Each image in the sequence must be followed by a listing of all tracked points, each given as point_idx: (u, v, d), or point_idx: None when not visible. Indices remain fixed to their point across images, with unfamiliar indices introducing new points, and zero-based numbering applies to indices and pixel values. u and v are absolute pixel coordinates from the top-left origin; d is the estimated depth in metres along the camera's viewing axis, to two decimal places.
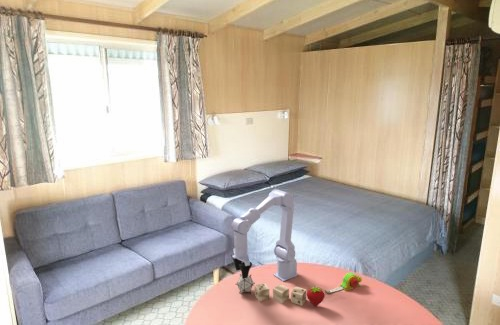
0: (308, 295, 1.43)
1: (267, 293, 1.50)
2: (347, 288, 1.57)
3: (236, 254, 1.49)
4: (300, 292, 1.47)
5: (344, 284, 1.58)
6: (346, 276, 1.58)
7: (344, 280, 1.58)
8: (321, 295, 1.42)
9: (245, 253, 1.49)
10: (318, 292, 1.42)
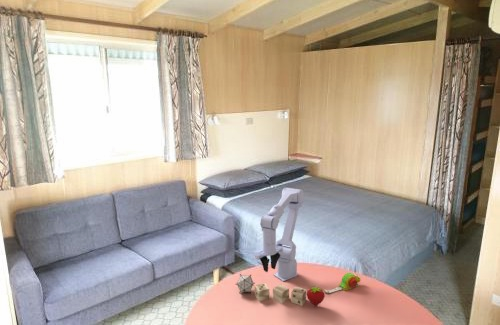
0: (308, 295, 1.43)
1: (267, 293, 1.50)
2: (346, 288, 1.57)
3: None
4: (300, 292, 1.47)
5: (343, 284, 1.58)
6: (345, 276, 1.58)
7: (343, 280, 1.58)
8: (321, 295, 1.42)
9: (266, 249, 1.51)
10: (318, 292, 1.42)
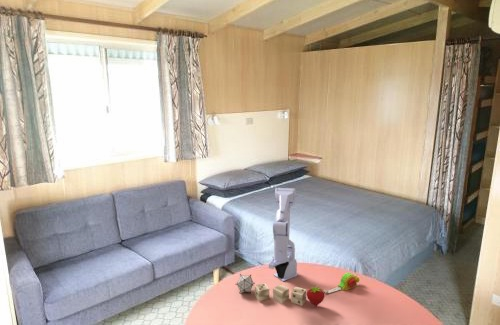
0: (308, 295, 1.43)
1: (267, 293, 1.50)
2: (345, 288, 1.57)
3: None
4: (300, 292, 1.47)
5: (342, 284, 1.57)
6: (344, 276, 1.58)
7: (342, 280, 1.58)
8: (321, 295, 1.42)
9: (279, 257, 1.45)
10: (318, 292, 1.42)
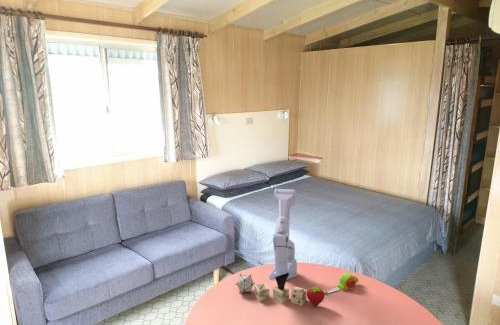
0: (308, 295, 1.43)
1: (267, 293, 1.50)
2: (344, 288, 1.57)
3: None
4: (300, 292, 1.47)
5: (342, 284, 1.57)
6: (343, 276, 1.58)
7: (341, 280, 1.58)
8: (321, 295, 1.42)
9: (279, 269, 1.46)
10: (318, 292, 1.42)
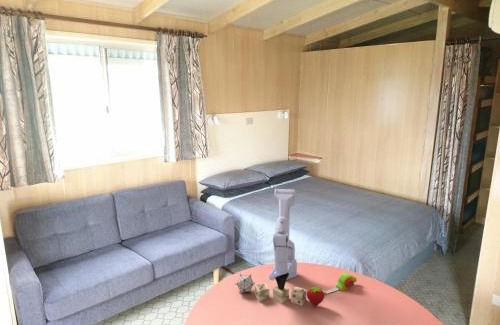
0: (308, 295, 1.43)
1: (267, 293, 1.50)
2: (343, 288, 1.57)
3: None
4: (300, 292, 1.47)
5: (340, 284, 1.57)
6: (341, 276, 1.58)
7: (339, 280, 1.58)
8: (321, 295, 1.42)
9: (279, 269, 1.46)
10: (318, 292, 1.42)
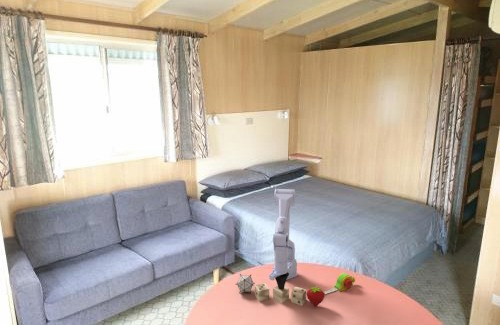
0: (308, 295, 1.43)
1: (267, 293, 1.50)
2: (341, 289, 1.56)
3: None
4: (300, 292, 1.47)
5: (339, 284, 1.57)
6: (340, 277, 1.58)
7: (338, 281, 1.58)
8: (321, 295, 1.42)
9: (279, 268, 1.46)
10: (318, 292, 1.42)
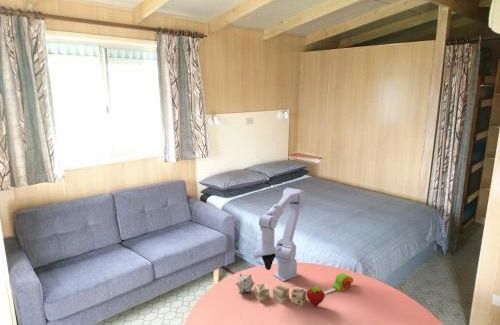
0: (308, 295, 1.43)
1: (267, 293, 1.50)
2: (340, 289, 1.56)
3: None
4: (300, 292, 1.47)
5: (337, 284, 1.57)
6: (338, 277, 1.58)
7: (337, 281, 1.58)
8: (321, 295, 1.42)
9: (264, 249, 1.52)
10: (318, 292, 1.42)
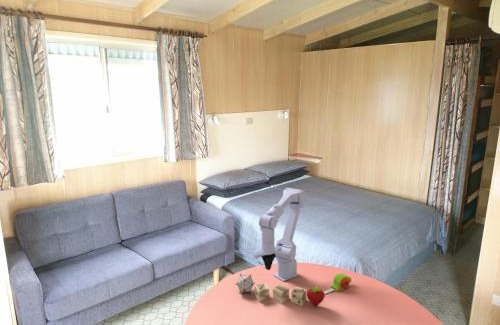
0: (308, 295, 1.43)
1: (267, 293, 1.50)
2: (338, 289, 1.56)
3: None
4: (300, 292, 1.47)
5: (336, 285, 1.57)
6: (337, 277, 1.57)
7: (335, 281, 1.57)
8: (321, 295, 1.42)
9: (264, 249, 1.52)
10: (318, 292, 1.42)
